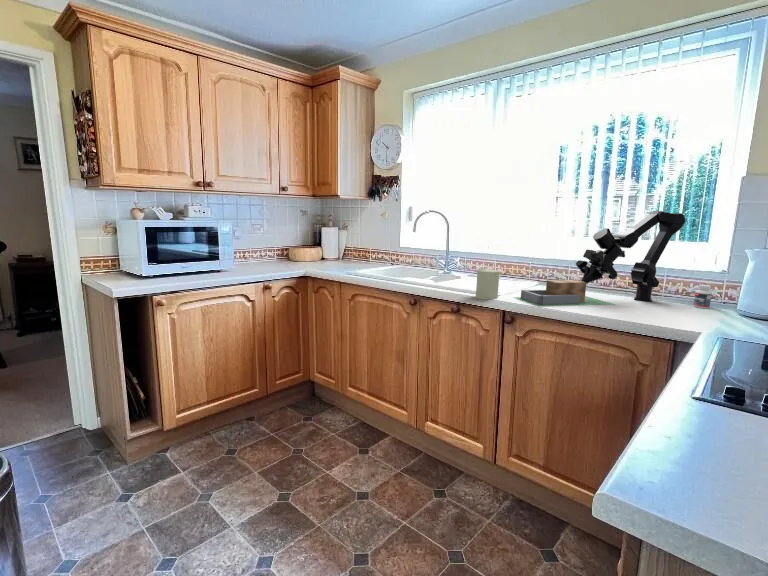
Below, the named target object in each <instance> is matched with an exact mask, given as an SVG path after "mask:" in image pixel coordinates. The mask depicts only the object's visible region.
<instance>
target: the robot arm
mask: <svg viewBox="0 0 768 576" xmlns="http://www.w3.org/2000/svg"><path fill="white" fill-rule="evenodd" d="M685 223H686V217H685V215H684V213H679V212H678V213H677V212H675V213H674V212H672V213H671V212H665V211H663V210H653V211H650V212H649V214H648V215H647V216H645V217H644V218H643V219H641V220H640V221H638V222H637V223H635V225H633V226H632V227H630V228H629V229H626V230H622V231H620V232H618V233H616V234H615V235H613V234H612V232H611V230H610V228H609V227H606V228H605V227H604V228H603V229H602V230H600V231H597V232H595V233H594V234H593V236H592V239H593V240H594V242H595V243H596V244H597V246H598V247H599V248H600V249H598V250H594V249H593V250H592V249H586V250H585V252H584V254H583V256H582V257H583V258H585V259H587V260H588V261H587V260H581V259H579V260H578V261H576V263H575V265H576V267H577V269H579V271H580V272H581V273H582V274H583V276H582V278H581V280H580V281H583V282H587V283H586V284H589V283H592V282H593V281H597V280H601V279H604V277H603V276H604V275H606V274H608V276H607V277H608V279H609V280H615V279H616V278H617V277H618V275H619V274H618V272H617V270H616V269H615V267H614V265H615V264H614V262H615V261H616V260H617V259H618V258H626V253H625V252H626V251H625V250H623V249H631V248H633V247H634V246H635V245H636V244H637V242H638V241H639V239H640V237H641V236H642V235H644V234H645V233H647V232H648V231H649V230H650V229H652V228H653V227H654V226H656V225H657V224H658V229H659V232H658V233H657V234H656V237H655V238H654V240H653V242H652V244H651V246H650V247H649V249H648V251H647V252H646V255H645V257H644V258H643V259H642V261H640V262H637V261H636V262H635V263H634V264H633V265H634V266H633V267H632V269H630V270H631V273H630V277H631V283H632V285H636V291H635V296H634V298H633V299H634V300H637V301H643V302H644V301H645V302H653V298H652V293H653V288H658V287H659V284H660V281H659V280H658V278H657V276H656V274H657V266H656V265H657V263H658V261H659V260H660V258H661V256H662V254H663V252H664V251H665V249H666V248H667V245H668V243H669V242H670V240H671V238H672V237H673V235H675V234H676V233H677V232H679V231H680V230H681V229H682V227H683V226H684V225H685ZM622 248H623V249H622Z"/></svg>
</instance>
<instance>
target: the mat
mask: <svg viewBox="0 0 768 576" xmlns="http://www.w3.org/2000/svg"><path fill="white" fill-rule="evenodd" d="M512 298H513V299H516V300H519V301H521V302H525V303H526V304H530V305H532V306H536V307H538V308H540V307H541V308H542V307H573V306H575V307H576V306H579V307H580V306H607V305H613V306H614V305H617V304H616V303H612V302H609V301H604V300H601V299H598V298H595V297H590V296H586V295H585V301H584V302H580V304H561V305H538V304H535V303H532V302H529V301H526V300H523V299H521V296H516V297H515V296H514V297H512Z"/></svg>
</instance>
